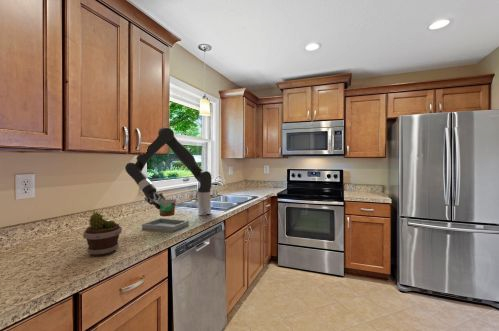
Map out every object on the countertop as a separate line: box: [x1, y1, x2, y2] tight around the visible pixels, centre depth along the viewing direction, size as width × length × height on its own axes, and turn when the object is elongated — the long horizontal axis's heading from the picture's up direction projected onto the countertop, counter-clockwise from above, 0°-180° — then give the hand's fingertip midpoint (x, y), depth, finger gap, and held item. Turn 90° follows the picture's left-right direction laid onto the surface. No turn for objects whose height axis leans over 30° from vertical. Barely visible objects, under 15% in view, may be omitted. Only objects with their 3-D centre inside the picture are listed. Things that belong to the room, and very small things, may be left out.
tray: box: [141, 217, 190, 233], centre depth 149 cm, size 16×22×3 cm
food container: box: [157, 198, 177, 217], centre depth 148 cm, size 12×6×10 cm, turn 71°
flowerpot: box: [82, 210, 123, 257], centre depth 108 cm, size 14×15×20 cm
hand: (162, 207), depth 149 cm, fingers closed on food container, 5 cm apart
